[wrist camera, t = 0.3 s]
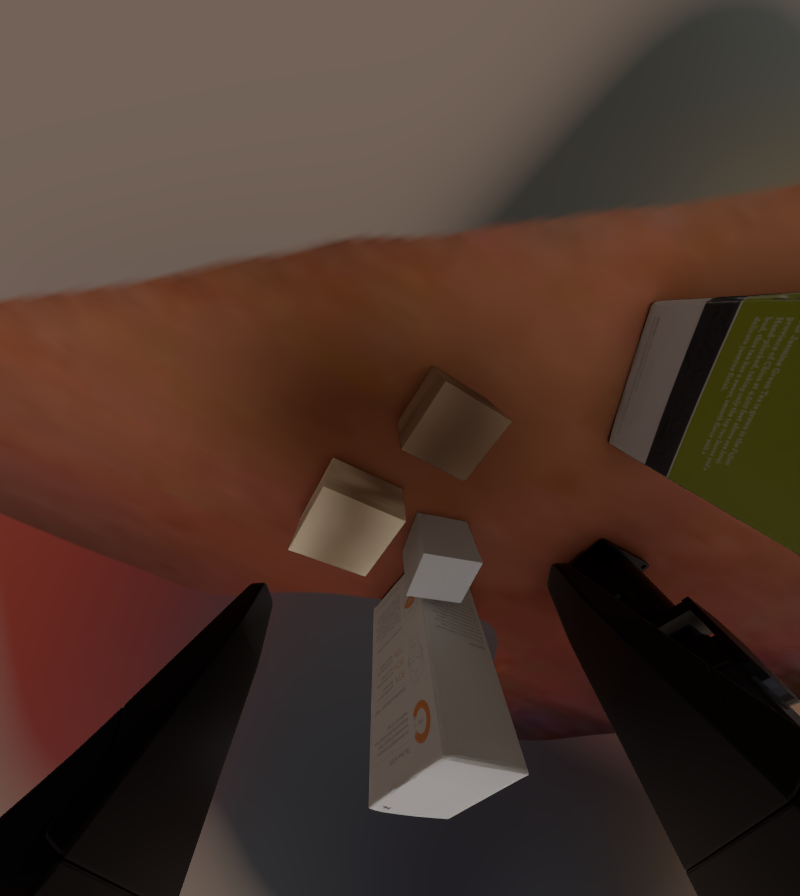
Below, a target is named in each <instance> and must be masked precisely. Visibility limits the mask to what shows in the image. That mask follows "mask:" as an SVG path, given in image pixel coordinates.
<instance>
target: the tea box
mask: <svg viewBox="0 0 800 896" xmlns="http://www.w3.org/2000/svg"><path fill="white" fill-rule="evenodd" d="M609 443H610V444H611V445H613V446H614V447H616V448H618V449H619V450H621V451H622V452H624V453H625V454H627V455H629V456H630V457H632V458H634V459H635V460H637V461H639V462H641V463H643V464H645V465H646V466H649V467H650V468H652V469H653V470H655V471H657V472H658V473H660V474H662V475H663V476H665V477H666V478H668V479H670V480H672V481H673V482H675V483H677V484H678V485H680V486H682V487H684V488H685V489H687V490H689V491H691V492H693V493H694V494H696V495H698V496H699V497H701V498H703V499H704V500H706V501H708V502H710V503H711V504H713V505H715V506H716V507H718V508H720V509H721V510H723V511H725V512H727V513H728V514H730V515H731V516H733V517H735V518H736V519H738V520H740V521H742V522H743V523H745V524H747V525H749V526H750V527H752V528H754V529H756V530H757V531H759V532H761V533H762V534H764V535H766V536H768V537H769V538H771V539H773V540H774V541H776V542H778V543H779V544H781V545H783V546H784V547H786V548H788V549H790V550H791V551H793V552H794V553H796V554H798V555H799V556H800V293H786V294H765V295H753V296H730V297H717V298H705V299H685V300H667V301H658V302H654V304H653V305H651V308H650V311H649V314H648V317H647V320H646V323H645V326H644V329H643V332H642V335H641V338H640V341H639V344H638V347H637V351H636V354H635V357H634V360H633V363H632V367H631V370H630V373H629V376H628V379H627V383H626V386H625V389H624V392H623V396H622V399H621V402H620V405H619V408H618V411H617V414H616V418H615V421H614V425H613V428H612V432H611V436H610V440H609Z"/></svg>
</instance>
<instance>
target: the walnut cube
mask: <svg viewBox="0 0 800 896" xmlns="http://www.w3.org/2000/svg"><path fill="white" fill-rule="evenodd" d="M511 422H512V421H511V420H510V419H509V418H508V417H507V416H505V415H504V414H503V413H502V412H501V411H500V410H498V409H497V408H496V407H495V406H494V405H493V404H492V403H490V402H489V401H488V400H487V399H486V398H484V397H482V396H481V395H479V394H478V393H476V392H474V391H473V390H471V389H469V388H468V387H466V386H465V385H463V384H461V383H460V382H458V381H457V380H455V379H453V378H452V377H450V376H448V375H447V374H445V373H444V372H442V371H440V370H439V369H437V368H436V367H434V366H432V367H431V369H430V370H429V372H428V374H427V375H426V377H425V378H424V380H423V382H422V383H421V385H420V387H419V388H418V390H417V391H416V393H415V395H414V396H413V398H412V399H411V401H410V403H409V404H408V406H407V408H406V409H405V411H404V412H403V414H402V416H401V417H400V419H399V421H398V429H399V437H400V445H401V450H403V451H405V452H407V453H409V454H411V455H413V456H415V457H417V458H418V459H420V460H422V461H424V462H426V463H428V464H430V465H432V466H434V467H436V468H438V469H440V470H442V471H444V472H446V473H448V474H450V475H452V476H454V477H456V478H458V479H460V480H462V481H464V482H465V480H466V479H467V478H468V477H469V475H470V474H471V473H472V472H473V470H474V469H475V468H476V467H477V465H478V464H479V463H480V462H481V460H482V459H483V458H484V456H485V455H486V454H487V453H488V451H489V450H490V449H491V448H492V446H493V445H494V444H495V443H496V441H497V440H498V439H499V437H500V436H501V435H502V434H503V432H504V431H505V430H506V429H507V427H508V426H509V425H510V424H511Z"/></svg>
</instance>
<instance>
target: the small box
mask: <svg viewBox="0 0 800 896" xmlns="http://www.w3.org/2000/svg"><path fill="white" fill-rule="evenodd" d="M373 626H374V627H373V669H372V670H373V671H372V672H373V673H372V702H371V739H370V740H371V741H370V778H369V779H370V780H369V808H370V809H373V810H376V811H381V812H386V813H393V814H401V815H409V816H419V817H430V818H443V819H449V818H451V817H452V816H454V815H456V814H458V813H460V812H462V811H463V810H465V809H467V808H469V807H470V806H472V805H474V804H476V803H478V802H480V801H481V800H483V799H485V798H487V797H489V796H490V795H492V794H494V793H496V792H498V791H499V790H501V789H503V788H505V787H507V786H509V785H510V784H512V783H514V782H516V781H518V780H519V779H521V778H523V777H525V776H527V775H528V774H529V773H528V770H527V767H526V763H525V760H524V757H523V755H522V751H521V748H520V745H519V742H518V738H517V735H516V732H515V729H514V726H513V723H512V719H511V716H510V713H509V710H508V707H507V704H506V701H505V698H504V694H503V692H502V688H501V685H500V682H499V679H498V676H497V672H496V669H495V666H494V663H493V660H492V657H491V654H490V650H489V647H488V644H487V641H486V638H485V635H484V632H483V628H482V625H481V622H480V619H479V616H478V613H477V610H476V607H475V604H474V600H473V597H472V594H471V591H470V588H469V589H468V591H467V593H466V595H465V596H464V598H463V600H462V602H461V603H456V602H449V601H441V600H434V599H427V598H420V597H412V596H406V589H405V576H404V575H403V576H402V577H401V578H400V579H399V581H398V582H397V583H396V584H395V585H394V586H393V587H392V589H391V590H390V591H389V592H388V593H387V595H386V596H385V597H384V598H383V599H382V600H381V602H380V603H379V604H378V605H377V606H376V607H375V608H374V625H373Z"/></svg>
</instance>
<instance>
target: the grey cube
mask: <svg viewBox="0 0 800 896" xmlns="http://www.w3.org/2000/svg"><path fill="white" fill-rule="evenodd" d="M403 564H404V576H405V589H406V596H412V597H420V598H427V599H434V600H441V601H449V602H456V603H461V602H462V600H463V598H464V596H465V595H466V593H467V591H468V589H469V587H470V585H471V584H472V582H473V580H474V578H475V576H476V575H477V573H478V571H479V569H480V567H481V566H482V564H483V562H482V559H481V557H480V554H479V552H478V549H477V547H476V544H475V542H474V539H473V537H472V534H471V531H470V529H469V526H468V524H467V522H465V521H460V520H454V519H449V518H444V517H439V516H433V515H428V514H423V513H418V512H417V514H416V517H415V519H414V522H413V525H412V527H411V530H410V533H409V535H408V538H407V541H406V543H405V546H404V548H403Z"/></svg>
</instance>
